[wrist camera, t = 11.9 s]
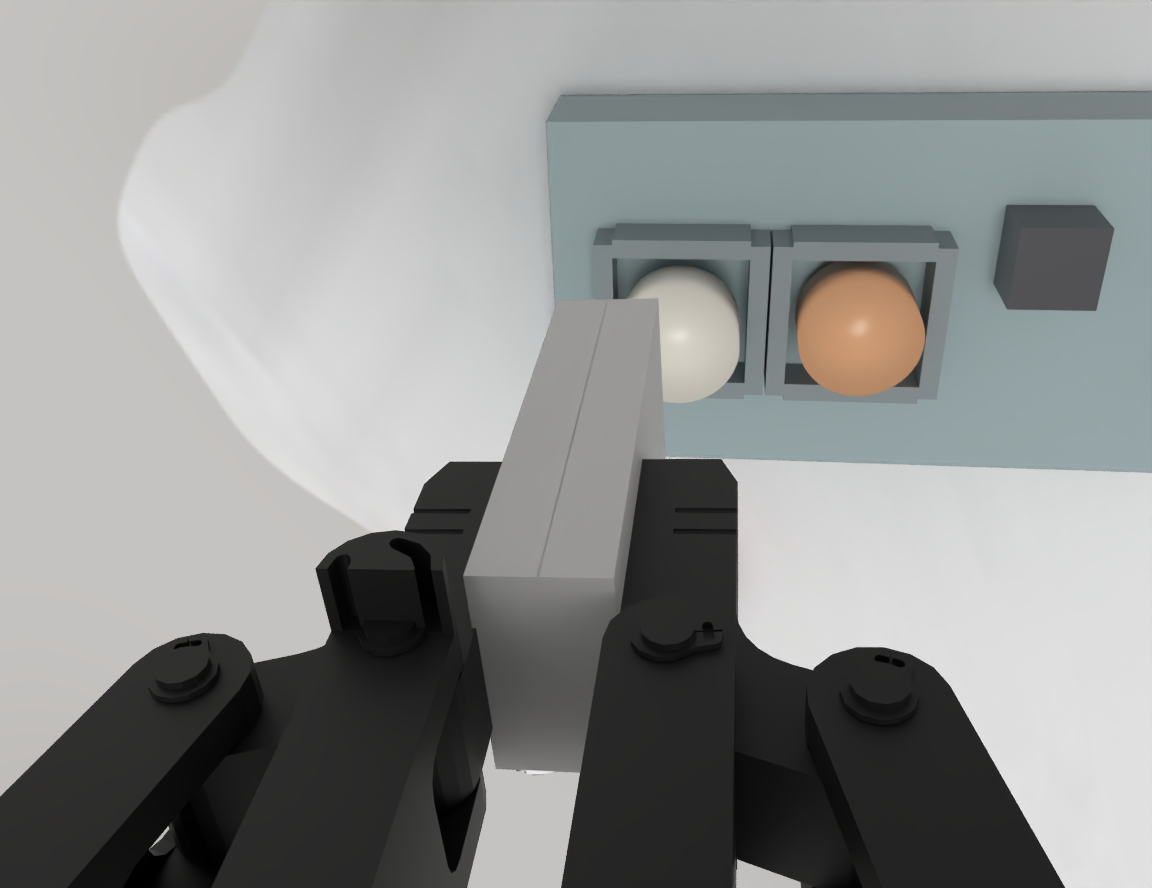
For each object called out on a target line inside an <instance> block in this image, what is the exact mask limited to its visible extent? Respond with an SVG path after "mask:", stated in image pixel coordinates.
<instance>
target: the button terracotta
mask: <svg viewBox="0 0 1152 888" xmlns="http://www.w3.org/2000/svg"><path fill="white" fill-rule="evenodd" d="M795 322H796V331H797V340H798V348H799V355H800V358H801V361H802V364H803V366H804V368H805V369H806V371H807V372H808V374H809V375H810V376H811V377H812V378H813V379H814V380H815V381H816V382H817V383H818V384H820V385H821V386H823V387H824V388H826V389H828V390H830V391H833V392H836V393H839V394H843V395H849V396H865V395H872V394H876V393H880V392H882V391H885V390H887V389H889V388H891V387H893V386H895V385H896V384H898V383H899V382H901V381H902V380H903V379H904V378H906V377H907V376H908V375H909V374H910V373H911V371H912V370H913V369H914V367H915V366H916V365H917V363H918V361H919V359H920V357H921V355H922V352H923V348H924V344H925V328H924V324H923V320H922V317H921V315H920V312H919V309H918V306H917V303H916V300H915V298H914V295H913V292H912V290H911V287H910V285H909V284H908V282H907V280H906V279H905V278H904V277H903V276H902V274H900V273H899V272H898V271H897V270H896V269H894V268H893V267H891V266H890V265H888V264H886V263H884V262H881V261H837V262H835V263H832V264H830V265H828V266H826V267H824V268H823V269H821V270H820V271H819V272H817V273H816V274H815V275H814V276H813V277H812V278H811V279H810V280H809V281H808V282H807V283H806V285H805V286H804V288H803V289H802V291H801V293H800V295H799V297H798V300H797V304H796V310H795Z"/></svg>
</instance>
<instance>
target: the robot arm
mask: <svg viewBox="0 0 1152 888" xmlns="http://www.w3.org/2000/svg"><path fill="white" fill-rule="evenodd" d="M316 573H317V577H318V580H319V584H320V588H321V592H322V596H323V600H324V604H325V608H326V612H327V616H328V619H329V623H330V627H331V633H330V635H329V638H328V640H327V642H326V644H325V645H324V646H322V647H320V648H318V649H314V650H311V651H307V652H304V653H300V654H296V655H291V656H287V657H281V658H277V659H272V660H267V661H262V662H257V663H254V662H253V659H252V656H251V654H250V652H249V651H248V650H247V648H246V647H245V645H244V644H243V642H241V641H239V640H237V639H235V638H232V637H230V636H228V635H226V634H210V633H201V634H196V635H191V636H186V637H181V638H177V639H175V640H173V641H170V642H168V643H166V644H164V645H161V646H159V647H157V648H155V649H153V650H152V651H151V652H149V653H148V654H146V655H145V656H144V657H143V658H141V659H140V660H139V661H137V662H136V663H135V664H133V665H132V666H131V667H130V669H128V670H127V671H126V672H125V673H124V674H123V675H122V676H121V677H120V679H118V680H117V681H116V682H115V683H114V684H113V685H112V686H111V687H110V688H109V689H108V690H107V691H106V692H105V693H104V694H103V695H102V696H101V697H100V698H99V699H98V701H96V702H95V703H94V704H93V705H92V706H91V707H90V708H89V709H88V710H87V711H86V712H85V713H84V714H83V715H82V716H81V717H80V718H79V719H78V720H77V721H76V722H75V723H74V724H73V725H72V726H71V727H70V728H69V729H68V730H67V731H66V732H65V733H64V734H63V735H62V736H61V737H60V738H59V739H58V740H57V741H56V742H55V743H54V744H53V745H52V746H51V747H50V748H49V749H48V750H47V751H46V752H45V753H44V754H43V755H42V756H41V757H40V758H39V759H38V760H37V761H36V762H35V763H34V764H33V765H32V766H31V767H30V768H29V769H28V770H27V771H26V772H25V773H24V774H23V775H22V776H21V777H20V778H19V779H18V780H17V781H16V782H15V783H14V784H12V786H10V788H9V789H7V790H6V792H4V793H3V795H2V796H0V888H467V885H468V881H469V877H470V873H471V869H472V865H473V860H474V856H475V852H476V848H477V844H478V840H479V836H480V832H481V828H482V823H483V819H484V815H485V811H486V789H485V784H484V777H483V772H482V768H483V764H484V760H485V756H486V752H487V748H488V745H489V741H490V737H491V743H492V748H493V755H494V761H495V766H496V769H512V770H534V771H557V772H579V773H580V777H579V783H578V790H577V796H576V801H575V807H574V813H573V820H572V825H571V831H570V838H569V844H568V850H567V856H566V862H565V869H564V874H563V880H562V886H561V888H736V869H737V859H738V860H741V861H744V862H746V863H749V864H752V865H755V866H757V867H761V868H763V869H766V870H769V871H771V872H774V873H777V874H780V875H783V876H786V877H788V878H791V879H794V880H797V881H799V882H801V888H1065V887H1064V885H1063V883H1062V881H1061V880H1060V878H1059V876H1058V874H1057V873H1056V871H1055V869H1054V867H1053V866H1052V864H1051V862H1050V860H1049V859H1048V857H1047V855H1046V853H1045V852H1044V850H1043V848H1042V846H1041V845H1040V843H1039V841H1038V839H1037V838H1036V836H1035V834H1034V832H1033V831H1032V829H1031V827H1030V825H1029V824H1028V822H1027V820H1026V818H1025V817H1024V815H1023V813H1022V811H1021V810H1020V808H1019V806H1018V804H1017V803H1016V801H1015V799H1014V797H1013V795H1012V794H1011V792H1010V790H1009V788H1008V787H1007V785H1006V783H1005V781H1004V780H1003V778H1002V776H1001V774H1000V773H999V771H998V769H997V767H996V766H995V764H994V762H993V760H992V759H991V757H990V755H989V753H988V752H987V750H986V748H985V746H984V745H983V743H982V741H981V739H980V738H979V736H978V734H977V732H976V731H975V729H974V727H973V725H972V724H971V722H970V720H969V718H968V717H967V715H966V713H965V711H964V710H963V708H962V706H961V704H960V703H959V701H958V699H957V697H956V696H955V694H954V692H953V690H952V688H951V687H950V685H949V684H948V683H947V682H946V681H945V680H944V678H943V677H942V676H941V675H940V674H939V673H938V672H937V671H936V669H935V668H934V667H932V666H930V665H928V664H927V663H925V662H923V661H921V660H920V659H918V658H916V657H914V656H913V655H911V654H907V653H903V652H899V651H895V650H892V649H888V648H884V647H856V648H853V649H849V650H846V651H842V652H839V653H835V654H832V655H831V656H829V657H828V658H827V659H825V660H824V661H823V662H821V663H820V664H819V665H817V666H816V667H815V668H814V670H810V669H806V668H802V667H799V666H795V665H792V664H789V663H786V662H784V661H781V660H778V659H776V658H773V657H772V656H770V655H768V654H767V653H765V652H763V651H762V650H760V649H758V648H757V647H756V646H755V645H754V644H753V643H752V642H751V641H750V640H749V639H748V638H747V637H746V636H745V634H744V632H743V631H742V629H741V627H740V625H739V623H738V482H737V481H736V479H735V478H734V476H733V475H732V474H731V472H730V471H729V470H728V468H727V467H726V465H725V464H724V463H723V461H722V460H721V459H665V434H664V412H663V390H662V368H661V347H660V325H659V303H658V298H650V299H604V300H558V301H557V304H556V307H555V310H554V313H553V316H552V319H551V322H550V325H549V328H548V330H547V333H546V336H545V339H544V342H543V345H542V348H541V351H540V354H539V357H538V360H537V362H536V365H535V368H534V371H533V374H532V377H531V380H530V383H529V386H528V389H527V392H526V394H525V397H524V400H523V403H522V406H521V409H520V412H519V415H518V418H517V421H516V424H515V426H514V429H513V432H512V435H511V438H510V441H509V444H508V447H507V450H506V453H505V455H504V458H503V461H502V462H449V463H448V464H447V465H445V466H444V467H443V468H442V469H441V470H440V471H439V472H437V473H436V474H435V475H434V476H433V477H432V478H431V479H429V480H428V481H427V482H426V483H425V484H424V486H423V489H422V491H421V493H420V495H419V498H418V500H417V502H416V504H415V507H414V513H412V514H411V516H410V518H409V520H408V523H407V525H406V527H405V532H404V531H397V530H395V531H386V532H376V533H370V534H367V535H364V536H362V537H358V538H355V539H352V540H349V541H347V542H345V543H344V544H342V545H341V546H339V547H337V548H336V549H334V550H333V551H331V552H330V553H328V554H327V555H326V557H325V558H324V559H323V560H322V561H321V563H320V564H319V565H318V566H317V567H316ZM168 826H169V830H168V832H167V833H166V834H165V835H164V837H163V838H162V839H161V840H160V841H159V842H157V843H156V844H155V845H154V846H153V847H152V848H150V847H151V846H152V845H153V844H154V842H155V841H156V840H157V839H158V838H159V836H160V835H161V834H162V833H163V832H164V830H165V829H166V828H167V827H168ZM149 848H150V849H149Z"/></svg>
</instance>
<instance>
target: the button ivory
mask: <svg viewBox="0 0 1152 888" xmlns="http://www.w3.org/2000/svg"><path fill="white" fill-rule="evenodd" d="M650 298H658V303H659V325H660V347H661V368H662V390H663V401H664V402H669V403H687V402H693V401H697V400H700V399H703V398H705V397H708V396H709V395H711V394H713V393H715V392H716V391H717V390H719V389H720V388H721V387H722V386H723V385H724V384H725V383H726V382H727V381H728V380H729V378H730V377H731V375H732V374H733V372H734V370H735V367H736V365H737V362H738V358H739V311H738V306H737V303H736V300H735V298H734V296H733V294H732V292H731V291H730V289H729V288H728V287H727V286H726V285H725V283H724V282H723V281H721V280H720V279H719V278H718V277H717V276H715V275H714V274H712V273H710V272H708V271H706V270H704V269H701V268H698V267H694V266H689V265H672V266H666V267H663V268H659V269H657V270H654V271H652V272H650V273H649V274H647V275H645V276H644V277H643V278H641V279H640V280H639V281H638V282H637V283H636V284H635V285H634V286H633V288H632V289H631V290H630V292H629V294H628V296H627V297H626V299H650Z"/></svg>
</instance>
